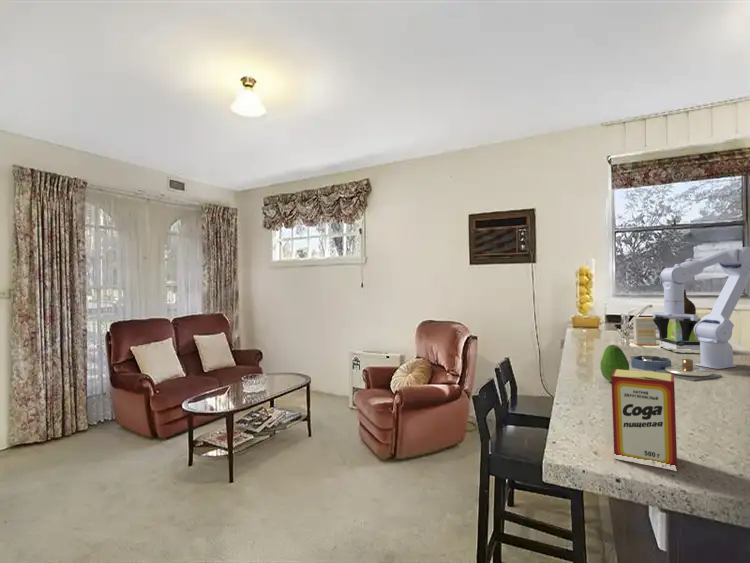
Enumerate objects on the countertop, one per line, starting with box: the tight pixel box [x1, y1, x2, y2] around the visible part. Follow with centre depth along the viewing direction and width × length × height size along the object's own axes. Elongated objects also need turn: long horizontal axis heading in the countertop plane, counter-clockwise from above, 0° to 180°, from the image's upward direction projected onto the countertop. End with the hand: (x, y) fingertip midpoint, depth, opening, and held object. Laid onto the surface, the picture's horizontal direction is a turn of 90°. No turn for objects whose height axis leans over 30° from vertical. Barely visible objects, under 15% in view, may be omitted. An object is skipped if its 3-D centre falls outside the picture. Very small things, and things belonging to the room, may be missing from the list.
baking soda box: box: [611, 369, 678, 467], centre depth 76 cm, size 10×6×16 cm
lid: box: [665, 358, 713, 376], centre depth 135 cm, size 12×12×4 cm
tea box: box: [658, 316, 701, 350], centre depth 177 cm, size 15×10×15 cm, turn 168°
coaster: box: [652, 370, 723, 382], centre depth 136 cm, size 13×13×1 cm
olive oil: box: [684, 289, 697, 315], centre depth 207 cm, size 11×11×25 cm
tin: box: [630, 355, 672, 371], centre depth 149 cm, size 12×12×3 cm
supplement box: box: [632, 316, 657, 346], centre depth 195 cm, size 8×5×13 cm, turn 71°
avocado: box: [600, 344, 630, 383], centre depth 130 cm, size 8×8×12 cm
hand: (674, 339), depth 145 cm, fingers open, 7 cm apart
